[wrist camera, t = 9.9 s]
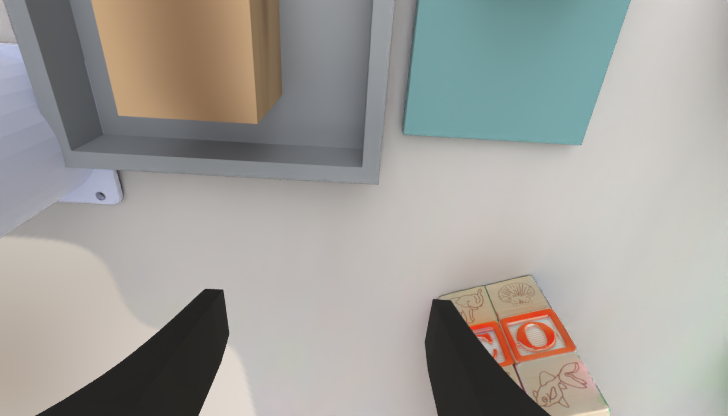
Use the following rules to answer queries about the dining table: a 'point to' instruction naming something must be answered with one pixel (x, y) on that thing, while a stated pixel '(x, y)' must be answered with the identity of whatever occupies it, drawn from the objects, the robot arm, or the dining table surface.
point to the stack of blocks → (531, 345)
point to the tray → (222, 139)
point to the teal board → (509, 68)
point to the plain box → (192, 57)
